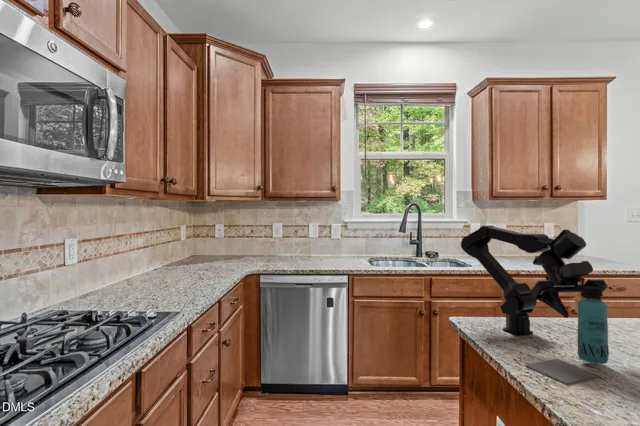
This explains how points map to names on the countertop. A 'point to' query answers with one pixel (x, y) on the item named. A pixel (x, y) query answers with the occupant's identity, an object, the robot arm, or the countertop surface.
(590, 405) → the countertop surface
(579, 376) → the mat
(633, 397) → the countertop surface
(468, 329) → the countertop surface
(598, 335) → the beverage bottle
